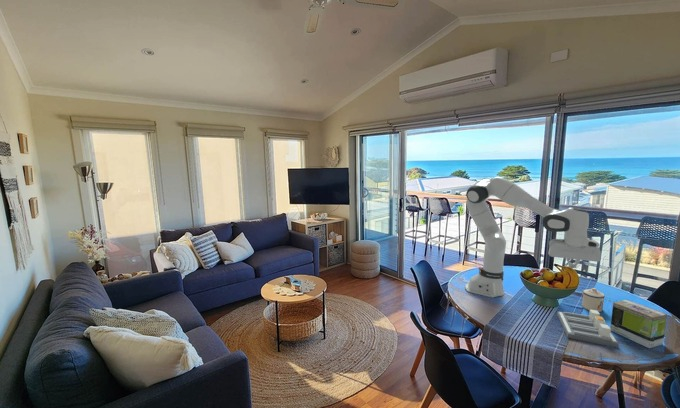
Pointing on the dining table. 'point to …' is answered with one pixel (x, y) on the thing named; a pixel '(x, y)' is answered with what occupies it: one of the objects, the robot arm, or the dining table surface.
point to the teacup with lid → (593, 299)
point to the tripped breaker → (598, 321)
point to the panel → (586, 328)
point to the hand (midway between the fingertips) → (572, 267)
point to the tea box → (638, 323)
